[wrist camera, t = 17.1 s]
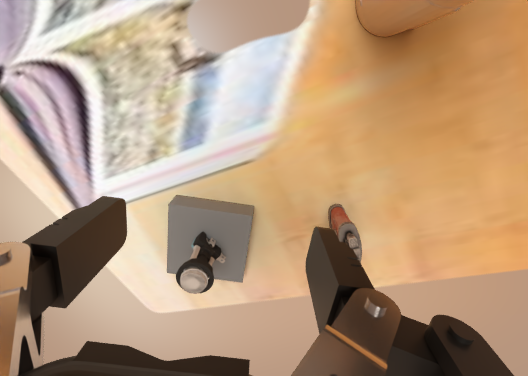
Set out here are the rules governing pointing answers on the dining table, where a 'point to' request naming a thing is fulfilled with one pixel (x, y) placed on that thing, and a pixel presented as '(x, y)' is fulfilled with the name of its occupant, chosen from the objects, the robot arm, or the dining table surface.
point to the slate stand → (209, 233)
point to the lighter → (345, 229)
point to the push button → (199, 265)
